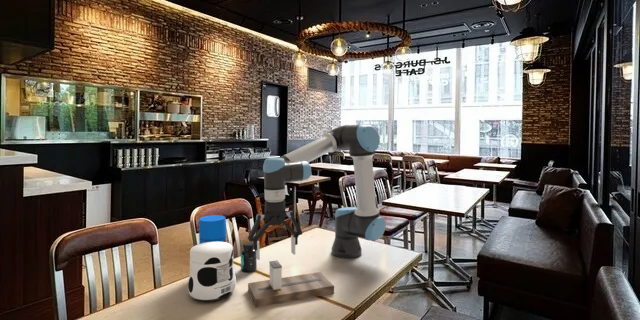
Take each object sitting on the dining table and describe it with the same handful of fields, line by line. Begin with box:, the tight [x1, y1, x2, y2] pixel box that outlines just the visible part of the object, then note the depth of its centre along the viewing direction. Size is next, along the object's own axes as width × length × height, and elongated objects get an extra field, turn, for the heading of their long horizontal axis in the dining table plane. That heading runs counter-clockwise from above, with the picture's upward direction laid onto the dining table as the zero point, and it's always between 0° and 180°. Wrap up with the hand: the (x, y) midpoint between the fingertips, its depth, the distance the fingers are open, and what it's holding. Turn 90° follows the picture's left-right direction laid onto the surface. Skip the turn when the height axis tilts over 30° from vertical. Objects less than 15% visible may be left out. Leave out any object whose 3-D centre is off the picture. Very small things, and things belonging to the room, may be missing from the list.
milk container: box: [187, 241, 237, 302], centre depth 133 cm, size 17×17×18 cm
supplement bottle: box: [240, 241, 258, 274], centre depth 156 cm, size 7×7×12 cm
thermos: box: [198, 214, 227, 244], centre depth 149 cm, size 11×11×25 cm
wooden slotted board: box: [247, 271, 335, 308], centre depth 136 cm, size 30×14×3 cm, turn 112°
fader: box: [268, 259, 283, 290], centre depth 133 cm, size 3×6×9 cm, turn 22°
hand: (276, 256), depth 133 cm, fingers open, 13 cm apart
